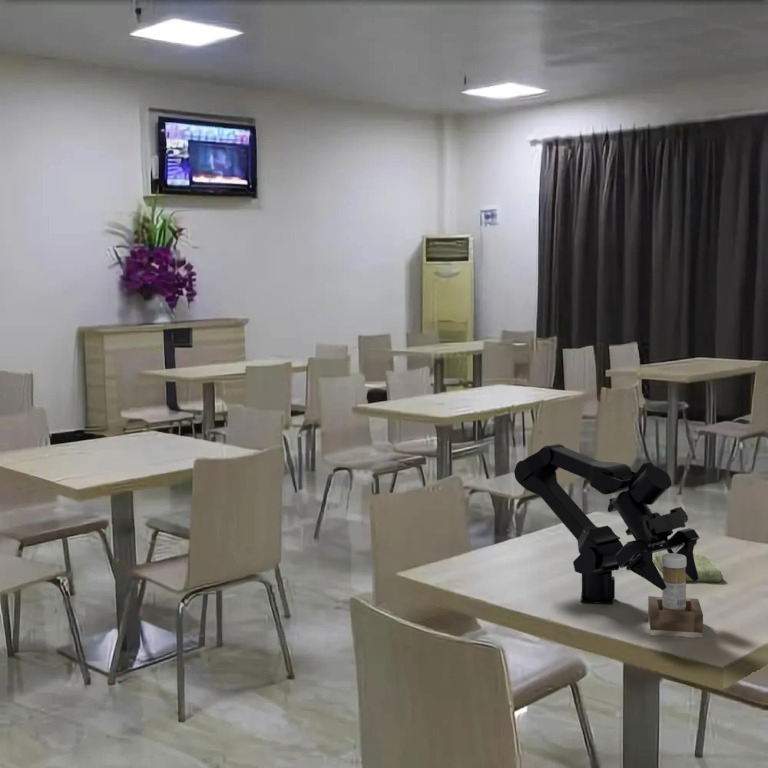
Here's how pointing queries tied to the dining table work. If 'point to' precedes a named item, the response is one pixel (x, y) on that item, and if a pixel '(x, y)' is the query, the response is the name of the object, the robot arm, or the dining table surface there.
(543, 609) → the dining table surface
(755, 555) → the dining table surface
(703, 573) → the washcloth
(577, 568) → the robot arm
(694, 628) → the socket block
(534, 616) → the dining table surface
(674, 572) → the sprinkles bottle
